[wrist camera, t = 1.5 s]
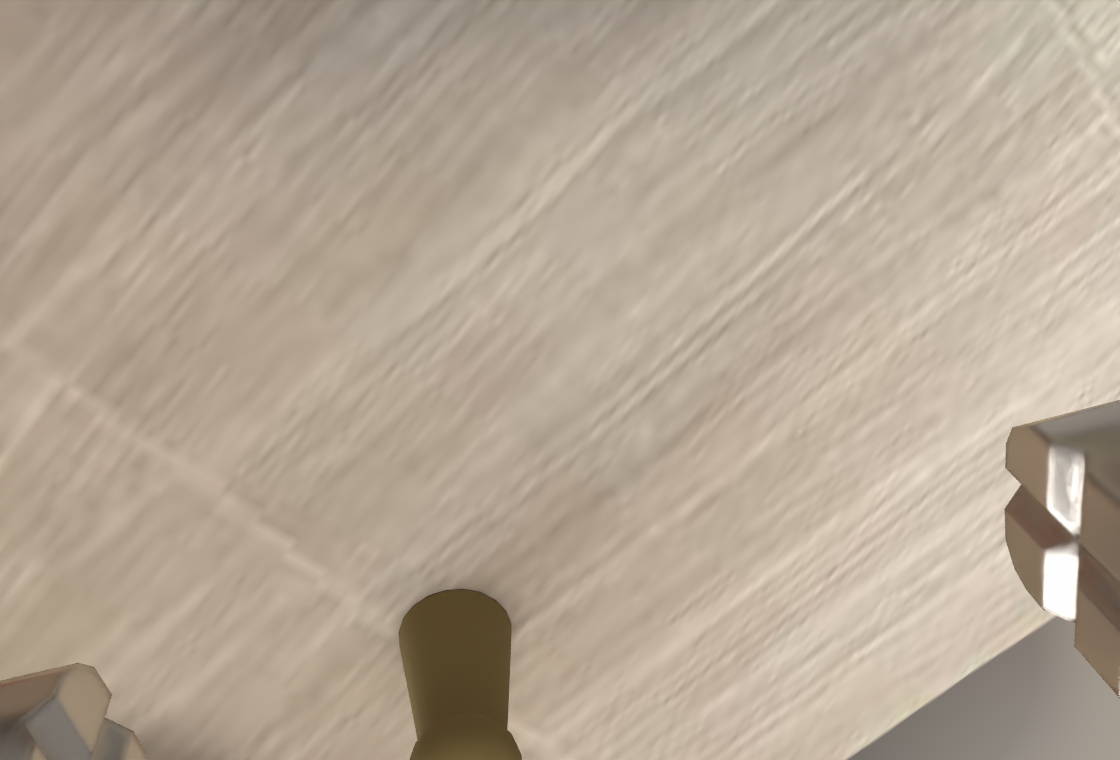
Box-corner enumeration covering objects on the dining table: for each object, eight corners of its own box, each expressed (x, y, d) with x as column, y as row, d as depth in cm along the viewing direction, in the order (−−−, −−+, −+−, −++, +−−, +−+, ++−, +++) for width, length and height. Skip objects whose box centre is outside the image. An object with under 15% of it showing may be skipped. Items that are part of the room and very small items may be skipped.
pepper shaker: (453, 570, 51) (465, 731, 41) (535, 628, 54) (564, 793, 44) (374, 641, 53) (368, 813, 43) (457, 694, 55) (469, 869, 45)
